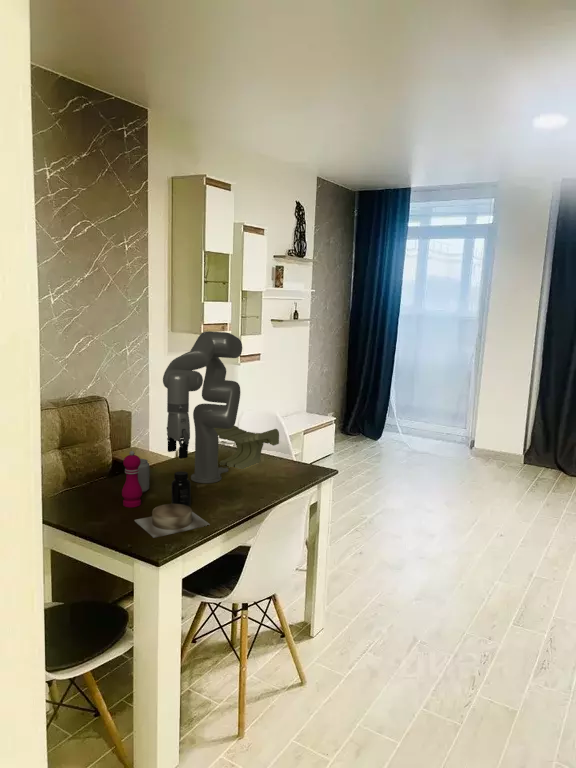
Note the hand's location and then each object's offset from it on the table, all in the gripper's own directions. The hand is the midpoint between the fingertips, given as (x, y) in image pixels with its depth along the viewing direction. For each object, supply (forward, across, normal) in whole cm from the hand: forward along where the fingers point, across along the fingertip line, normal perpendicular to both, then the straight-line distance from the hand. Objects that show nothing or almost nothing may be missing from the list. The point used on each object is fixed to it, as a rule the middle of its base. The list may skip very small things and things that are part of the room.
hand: (177, 454), depth 216 cm
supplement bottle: (+19, -1, -1) cm, 19 cm away
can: (+19, +21, +6) cm, 29 cm away
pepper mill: (+19, +8, +14) cm, 25 cm away
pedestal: (+19, -15, +8) cm, 26 cm away
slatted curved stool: (+19, +34, -46) cm, 61 cm away
